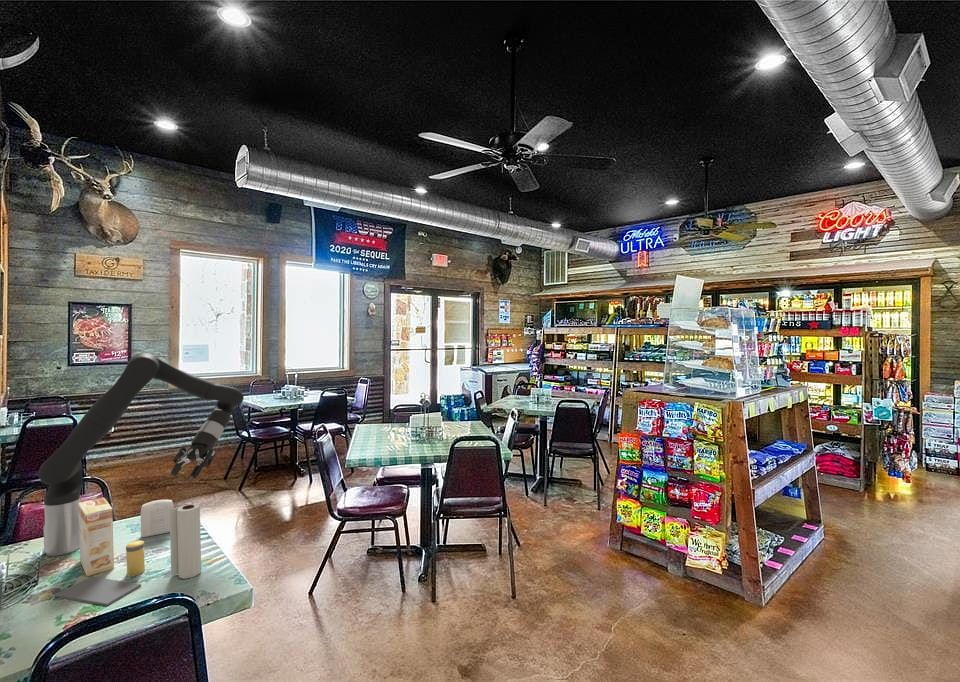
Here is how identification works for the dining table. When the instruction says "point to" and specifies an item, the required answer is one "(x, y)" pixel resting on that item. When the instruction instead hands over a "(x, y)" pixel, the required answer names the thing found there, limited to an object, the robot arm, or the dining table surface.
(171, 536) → the paper towel roll
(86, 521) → the coffeecake box
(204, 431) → the robot arm
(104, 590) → the slate mat
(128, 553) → the yellow domed cylinder
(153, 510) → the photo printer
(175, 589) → the dining table surface
